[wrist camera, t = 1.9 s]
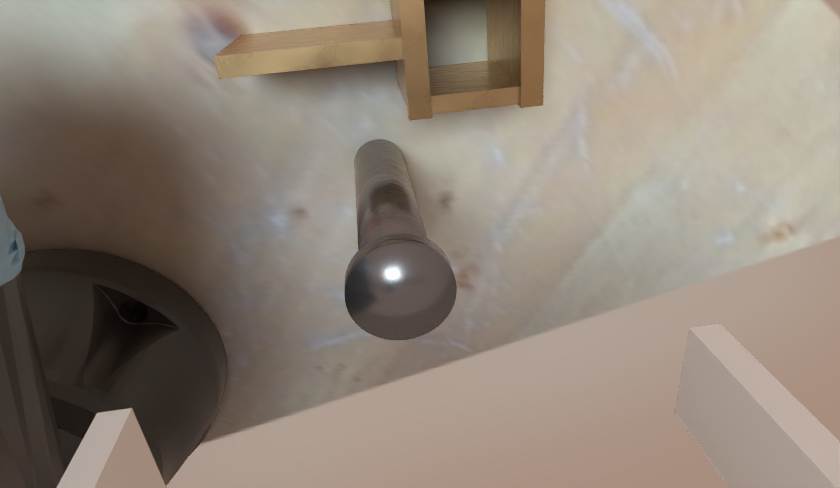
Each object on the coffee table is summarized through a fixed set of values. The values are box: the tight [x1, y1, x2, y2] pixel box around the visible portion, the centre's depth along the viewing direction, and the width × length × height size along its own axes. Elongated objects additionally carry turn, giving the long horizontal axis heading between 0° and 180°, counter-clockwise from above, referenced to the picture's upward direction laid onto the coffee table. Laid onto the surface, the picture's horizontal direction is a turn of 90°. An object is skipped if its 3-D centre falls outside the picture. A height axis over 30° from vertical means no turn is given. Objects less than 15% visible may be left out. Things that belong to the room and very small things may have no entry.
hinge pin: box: [345, 139, 456, 340], centre depth 24 cm, size 4×4×13 cm
